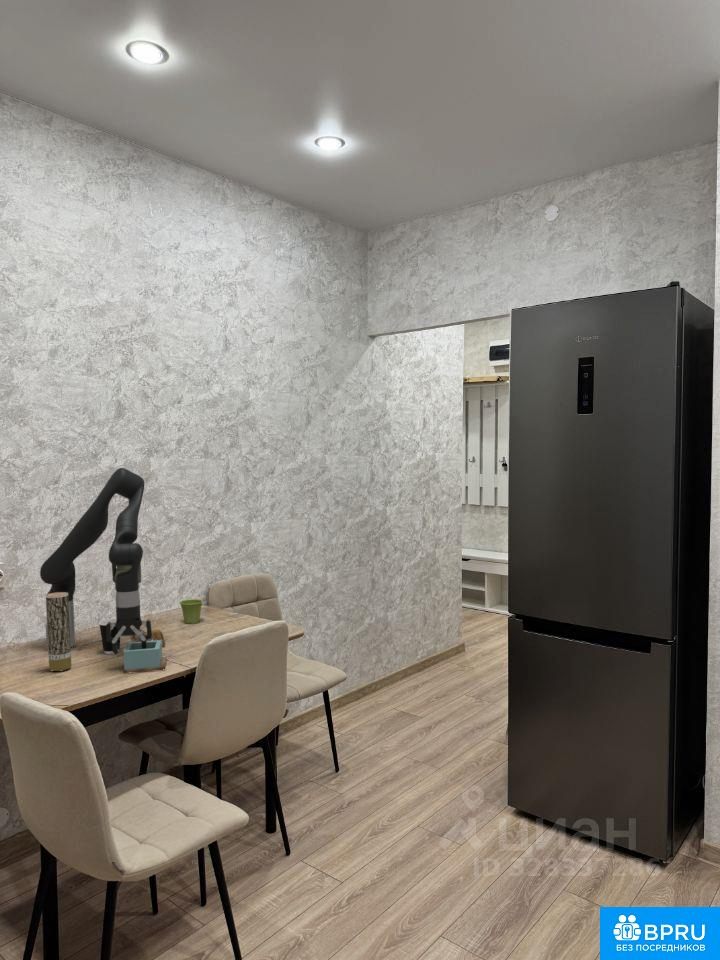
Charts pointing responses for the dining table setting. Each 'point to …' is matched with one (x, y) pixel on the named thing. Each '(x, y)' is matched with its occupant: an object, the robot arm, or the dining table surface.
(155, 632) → the lion figurine
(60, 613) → the paper tube
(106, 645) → the dixie cup
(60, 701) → the dining table surface
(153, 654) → the collar
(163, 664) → the shaft block
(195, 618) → the plant pot
